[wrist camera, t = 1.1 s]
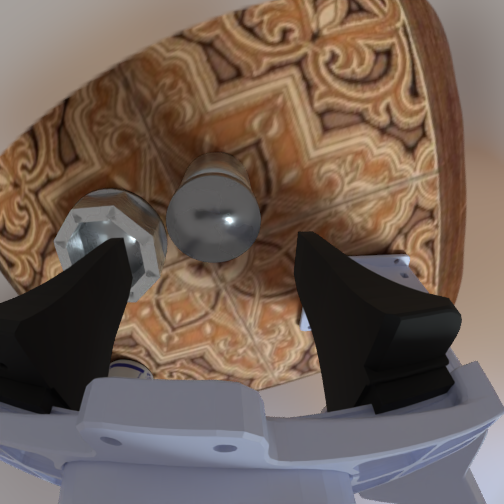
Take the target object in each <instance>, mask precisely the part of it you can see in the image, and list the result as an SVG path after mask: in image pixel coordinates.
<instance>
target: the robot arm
mask: <svg viewBox="0 0 504 504" xmlns="http://www.w3.org/2000/svg"><path fill="white" fill-rule="evenodd" d="M396 259H397V260H396ZM395 260H396V261H395ZM409 262H410V257H409V256H408V255H407V254H394V255H370V256H347V255H345V254H344V253H342V252H341V251H339V250H338V249H337V248H335V247H334V246H333V245H331V244H330V243H329V242H327V241H326V240H324V239H323V238H322V237H320V236H319V235H317V234H316V233H314V232H298V238H297V248H296V257H295V266H294V277H295V282H296V287H297V291H298V295H299V297H300V300H301V303H302V306H303V307H302V313H301V319H300V325H299V327H300V330H302V331H312V334H313V337H314V341H315V345H316V349H317V354H318V358H319V363H320V369H321V374H322V380H323V386H324V392H325V399H326V406H325V407H324V408H323V410H322V411H321V413H320V414H314V415H307V416H299V417H290V418H285V417H267V416H265V409H264V402H263V400H262V398H261V396H260V394H259V392H258V391H256V390H254V389H252V388H250V387H247V386H245V385H243V384H241V383H239V382H231V381H222V380H164V379H142V378H126V377H108V374H109V366H110V360H111V354H112V349H113V344H114V341H115V337H116V334H117V331H118V328H119V325H120V322H121V319H122V316H123V313H124V310H125V307H126V304H127V301H128V298H129V295H130V290H131V285H132V280H133V276H132V272H131V268H130V264H129V260H128V255H127V251H126V246H125V242H124V237H123V238H110V239H108V240H106V241H105V242H103V243H102V244H100V245H99V246H97V247H96V248H95V249H93V250H92V251H91V252H89V253H88V254H86V255H85V256H84V257H82V258H81V259H80V260H78V261H77V262H76V263H74V264H73V265H71V266H70V267H69V268H67V269H66V270H64V271H63V272H61V273H60V274H58V275H57V276H55V277H54V278H52V279H50V280H49V281H47V282H45V283H44V284H42V285H40V286H38V287H36V288H34V289H32V290H30V291H28V292H26V293H24V294H22V295H20V296H17V297H15V298H13V299H10V300H8V301H5V302H2V303H0V460H1V461H3V462H5V463H7V464H9V465H11V466H13V467H15V468H18V469H20V470H22V471H24V472H26V473H28V474H31V475H33V476H35V477H38V478H40V479H42V480H45V481H47V482H50V483H53V484H55V485H58V486H60V487H61V489H60V496H59V503H58V504H356V502H355V498H354V494H355V493H359V494H360V496H361V497H362V498H364V499H369V500H374V501H380V502H387V503H396V504H486V502H485V500H484V498H483V495H482V493H481V491H480V489H479V487H478V485H477V483H476V480H475V478H474V477H473V474H472V472H471V470H470V468H469V467H470V465H471V463H472V462H473V460H474V458H475V456H476V455H477V453H478V451H479V449H480V447H481V445H482V444H483V442H484V440H485V437H486V435H487V432H488V428H489V427H490V426H491V425H492V424H494V423H495V422H496V421H497V420H498V419H499V418H500V417H501V416H502V415H503V414H504V406H503V405H502V403H501V401H500V399H499V397H498V395H497V394H496V392H495V390H494V388H493V386H492V385H491V383H490V381H489V379H488V378H487V376H486V374H485V373H484V371H483V369H482V368H481V366H480V365H479V363H478V361H474V362H471V363H469V364H466V365H463V366H462V365H461V363H460V361H459V360H458V358H457V357H456V355H455V353H454V352H453V350H452V349H451V347H450V346H451V344H452V343H453V341H454V339H455V338H456V336H457V334H458V332H459V330H460V326H461V322H462V319H461V314H460V313H459V312H458V310H457V309H456V308H455V306H454V305H453V303H452V302H451V301H450V299H449V298H446V297H442V296H438V295H433V294H429V292H428V291H427V290H426V289H425V287H424V286H423V285H422V283H421V282H420V281H419V279H418V278H417V277H416V276H415V274H414V273H413V272H412V271H411V269H410V268H409V267H408V265H409Z"/></svg>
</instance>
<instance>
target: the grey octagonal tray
mask: <svg viewBox="0 0 504 504" xmlns="http://www.w3.org/2000/svg"><path fill="white" fill-rule="evenodd" d="M123 237H124V242H125V246H126V251H127V255H128V260H129V264H130V268H131V272H132V276H133V280H132V285H131V290H130V295H129V298H128V301H127V302H137V301H138V300H139V299H140V298H141V297H142V296H143V294H144V293H145V292H146V291H147V290H148V289H149V288H150V287H151V286H152V285H153V284H154V283H155V282H156V281H157V280H158V279H159V278H160V276H161V272H162V268H163V265H164V261H165V257H166V253H167V245H168V243H167V235H166V230H165V228H164V225H163V223H162V221H161V219H160V217H159V216H158V214H157V213H156V211H155V210H154V209H153V208H152V207H151V206H150V205H149V204H148V203H147V202H146V201H145V200H143V199H142V198H140V197H139V196H137V195H135V194H133V193H131V192H128V191H126V190H122V189H117V188H103V189H98V190H95V191H92V192H90V193H88V194H87V195H85V196H84V197H83V198H81V199H80V200H79V201H78V202H77V203H76V205H75V206H74V207H73V208H72V209H71V211H70V212H69V214H68V216H67V218H66V219H65V221H64V223H63V225H62V226H61V228H60V230H59V232H58V234H57V236H56V238H55V239H54V244H55V248H56V251H57V254H58V257H59V260H60V263H61V266H62V268H63V271H64V270H66V269H67V268H69V267H70V266H71V265H73V264H74V263H76V262H77V261H78V260H80V259H81V258H82V257H84V256H85V255H86V254H88V253H89V252H91V251H92V250H93V249H95V248H96V247H97V246H99V245H100V244H102V243H103V242H105V241H106V240H108V239H110V238H123Z"/></svg>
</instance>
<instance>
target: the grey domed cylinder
mask: <svg viewBox="0 0 504 504" xmlns="http://www.w3.org/2000/svg"><path fill="white" fill-rule="evenodd" d="M260 224H261V216H260V210H259V206H258V203H257V200H256V198H255V196H254V194H253V192H252V190H251V186H250V181H249V177H248V173H247V171H246V169H245V167H244V166H243V164H242V163H241V162H240V161H239V160H238V159H237V158H235V157H234V156H232V155H230V154H227V153H223V152H210V153H206V154H204V155H201V156H199V157H198V158H196V159H195V160H194V161H193V162H192V163H191V164H190V165H189V167H188V169H187V171H186V173H185V175H184V178H183V180H182V182H181V185H180V186H179V188H178V189H177V190H176V191H175V193H174V195H173V197H172V199H171V201H170V204H169V206H168V209H167V214H166V225H167V230H168V233H169V236H170V238H171V239H172V241H173V243H174V244H175V245H176V246H177V247H178V249H180V250H181V251H182V252H183V253H185V254H186V255H188V256H189V257H191V258H194V259H196V260H199V261H203V262H212V263H216V262H224V261H228V260H231V259H234V258H236V257H238V256H240V255H241V254H243V253H244V252H245V251H247V250H248V249H249V248H250V247H251V245H252V244H253V243H254V241H255V240H256V238H257V236H258V233H259V230H260Z"/></svg>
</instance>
